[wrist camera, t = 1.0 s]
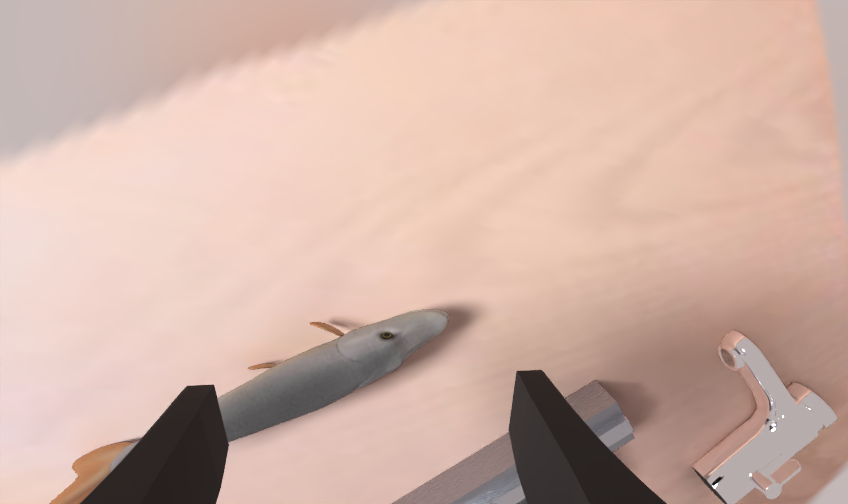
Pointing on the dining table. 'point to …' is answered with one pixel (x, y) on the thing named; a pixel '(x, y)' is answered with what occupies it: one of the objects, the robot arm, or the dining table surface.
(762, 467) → the silver l-shaped piece
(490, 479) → the rail
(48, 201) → the dining table surface
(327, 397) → the fish
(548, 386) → the robot arm
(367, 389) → the dining table surface
